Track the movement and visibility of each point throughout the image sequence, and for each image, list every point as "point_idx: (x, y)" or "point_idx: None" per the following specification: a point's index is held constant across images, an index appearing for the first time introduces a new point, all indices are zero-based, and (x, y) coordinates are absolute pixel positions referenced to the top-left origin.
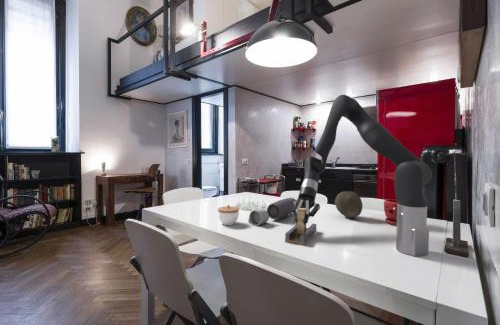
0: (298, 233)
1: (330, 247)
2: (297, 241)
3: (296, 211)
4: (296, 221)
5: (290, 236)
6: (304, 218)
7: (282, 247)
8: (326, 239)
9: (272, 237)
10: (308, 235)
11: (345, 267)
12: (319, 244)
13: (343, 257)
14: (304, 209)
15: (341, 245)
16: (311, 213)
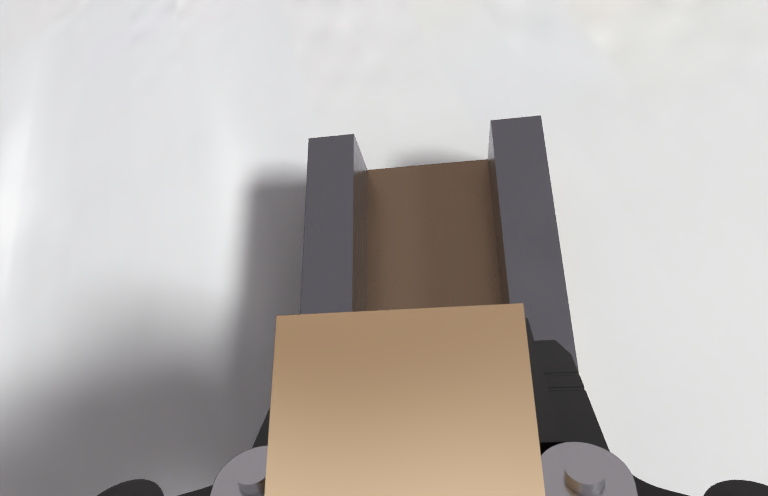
0: None
1: (111, 268)
2: (396, 172)
3: (613, 487)
4: None
5: (493, 189)
6: None
7: (486, 50)
8: None
9: (732, 216)
10: None
11: (38, 14)
12: (207, 288)
13: (31, 132)
14: (292, 435)
15: (13, 375)
16: (132, 482)
